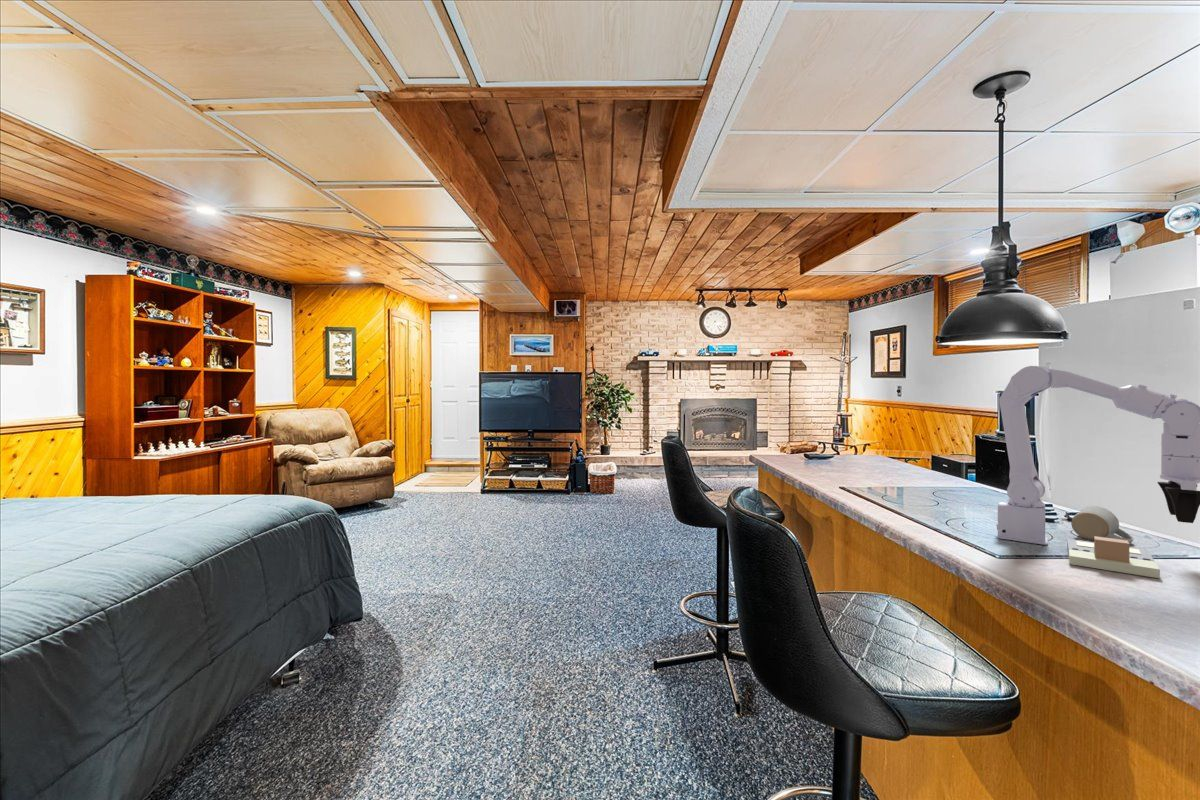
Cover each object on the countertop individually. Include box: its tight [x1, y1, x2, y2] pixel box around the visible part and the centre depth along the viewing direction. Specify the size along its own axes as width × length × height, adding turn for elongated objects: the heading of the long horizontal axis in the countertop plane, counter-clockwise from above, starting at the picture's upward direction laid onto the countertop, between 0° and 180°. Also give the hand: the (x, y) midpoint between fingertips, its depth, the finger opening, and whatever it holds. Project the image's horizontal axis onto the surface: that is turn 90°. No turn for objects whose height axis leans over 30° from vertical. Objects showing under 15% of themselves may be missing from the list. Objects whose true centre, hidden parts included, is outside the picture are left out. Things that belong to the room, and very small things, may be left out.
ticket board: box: [1066, 538, 1155, 561], centre depth 110 cm, size 13×10×2 cm
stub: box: [1068, 536, 1161, 579], centre depth 104 cm, size 13×6×6 cm, turn 48°
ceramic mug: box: [1070, 505, 1134, 545], centre depth 124 cm, size 11×8×8 cm
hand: (1181, 518), depth 106 cm, fingers open, 7 cm apart
